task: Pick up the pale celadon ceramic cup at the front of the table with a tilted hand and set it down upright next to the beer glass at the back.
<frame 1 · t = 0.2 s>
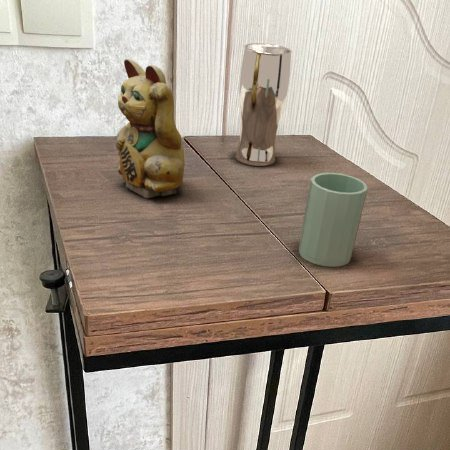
beer glass: (254, 160, 95), on the table
cup: (324, 254, 72), on the table
decorative figurine: (153, 189, 83), on the table
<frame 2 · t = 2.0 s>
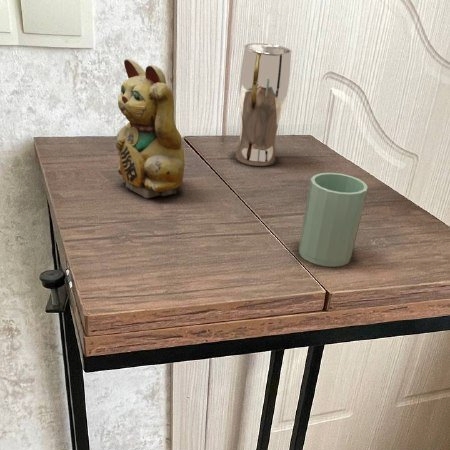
nothing on the table moved.
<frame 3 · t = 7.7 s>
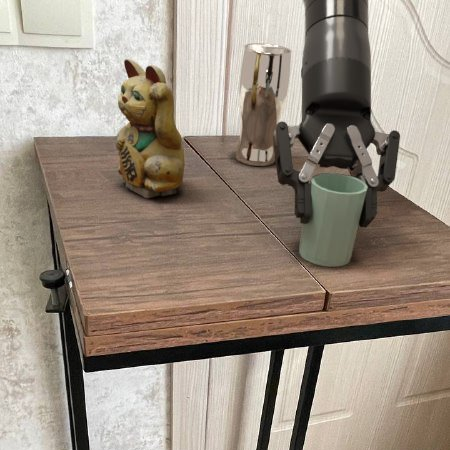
hand: (335, 222, 68), 5 cm above the table, tool tilted 45°, fingers closed on cup, 6 cm apart
cup: (324, 254, 72), on the table, touching gripper
everything else where it was.
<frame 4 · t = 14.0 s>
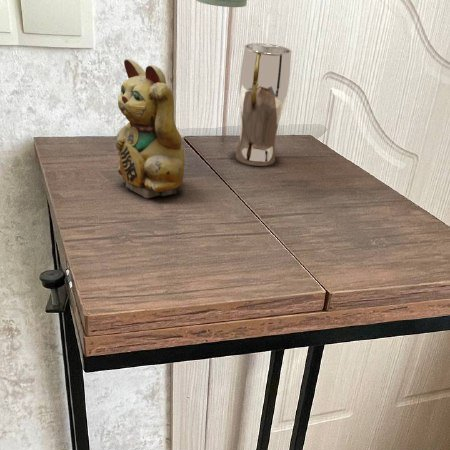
cup: (221, 2, 73), point 21 cm above the table, touching gripper
everything else where it was.
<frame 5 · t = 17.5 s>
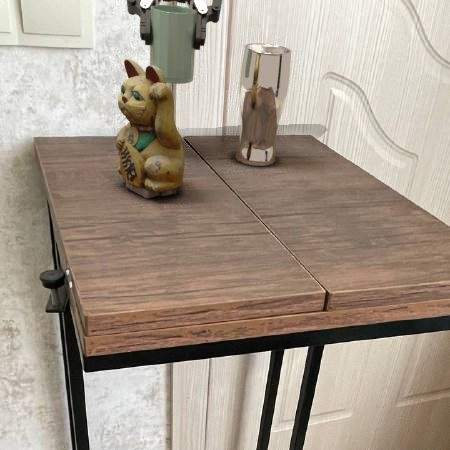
hand: (172, 43, 83), 15 cm above the table, tool tilted 45°, fingers closed on cup, 6 cm apart
cup: (171, 78, 87), point 10 cm above the table, touching gripper
everything else where it was.
when the fingers open (5 cm above the table, at t = 20.3 s): cup stays where it is, on the table.
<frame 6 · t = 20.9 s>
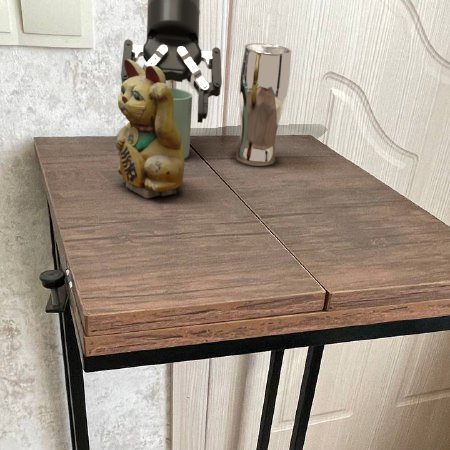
hand: (170, 117, 89), 5 cm above the table, tool tilted 45°, fingers open, 8 cm apart
cup: (169, 153, 94), on the table
everything else where it was.
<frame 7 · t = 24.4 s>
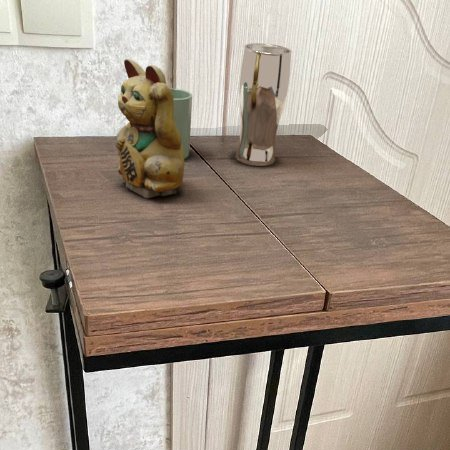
nothing on the table moved.
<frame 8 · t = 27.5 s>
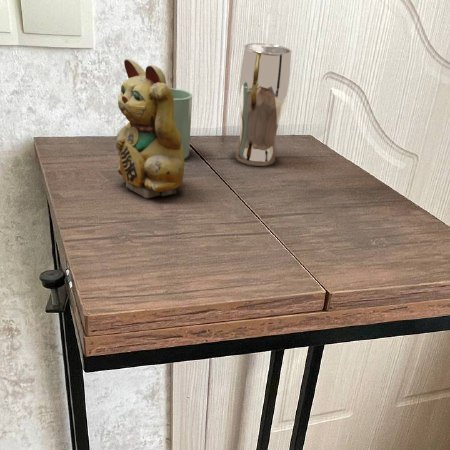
nothing on the table moved.
at the end: cup 13.0 cm from the beer glass (horizontally); cup tilted 0°; the gripper is holding nothing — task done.
